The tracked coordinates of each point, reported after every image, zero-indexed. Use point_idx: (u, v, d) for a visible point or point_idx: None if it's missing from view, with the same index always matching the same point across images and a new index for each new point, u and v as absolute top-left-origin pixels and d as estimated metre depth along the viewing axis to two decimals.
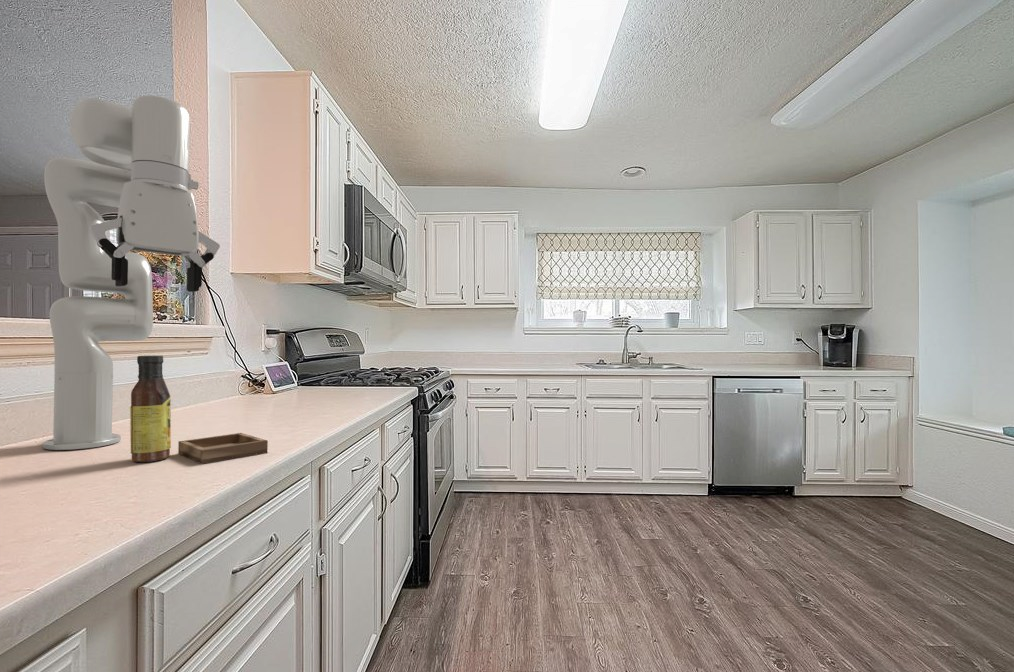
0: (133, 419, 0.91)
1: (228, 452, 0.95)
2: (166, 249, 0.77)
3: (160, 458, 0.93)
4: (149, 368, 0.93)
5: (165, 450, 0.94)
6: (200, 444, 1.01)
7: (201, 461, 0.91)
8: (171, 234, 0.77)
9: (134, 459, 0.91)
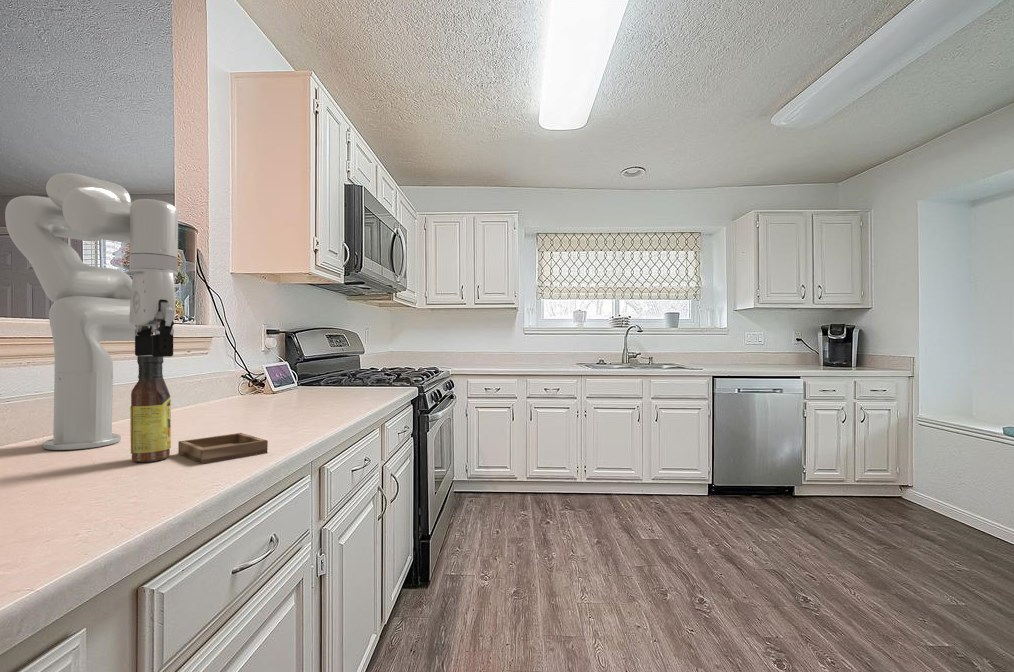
0: (133, 419, 0.91)
1: (228, 452, 0.95)
2: None
3: (160, 458, 0.93)
4: (149, 368, 0.93)
5: (165, 450, 0.94)
6: (200, 444, 1.01)
7: (201, 461, 0.91)
8: None
9: (134, 459, 0.91)
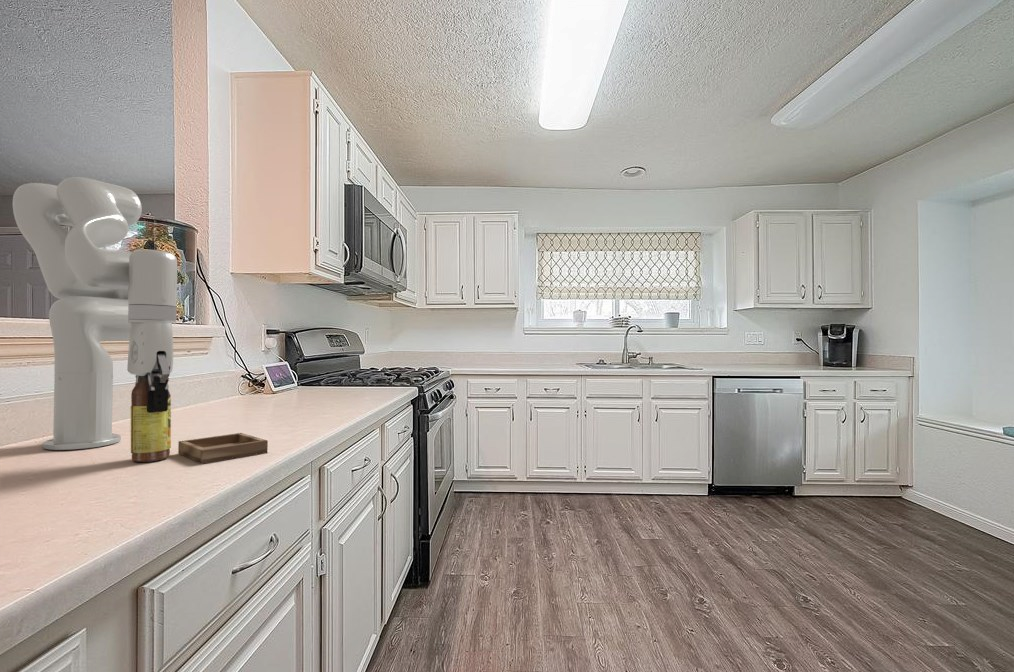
0: (133, 419, 0.91)
1: (228, 452, 0.95)
2: None
3: (160, 458, 0.93)
4: None
5: (165, 450, 0.93)
6: (200, 444, 1.01)
7: (201, 461, 0.91)
8: None
9: (134, 459, 0.91)
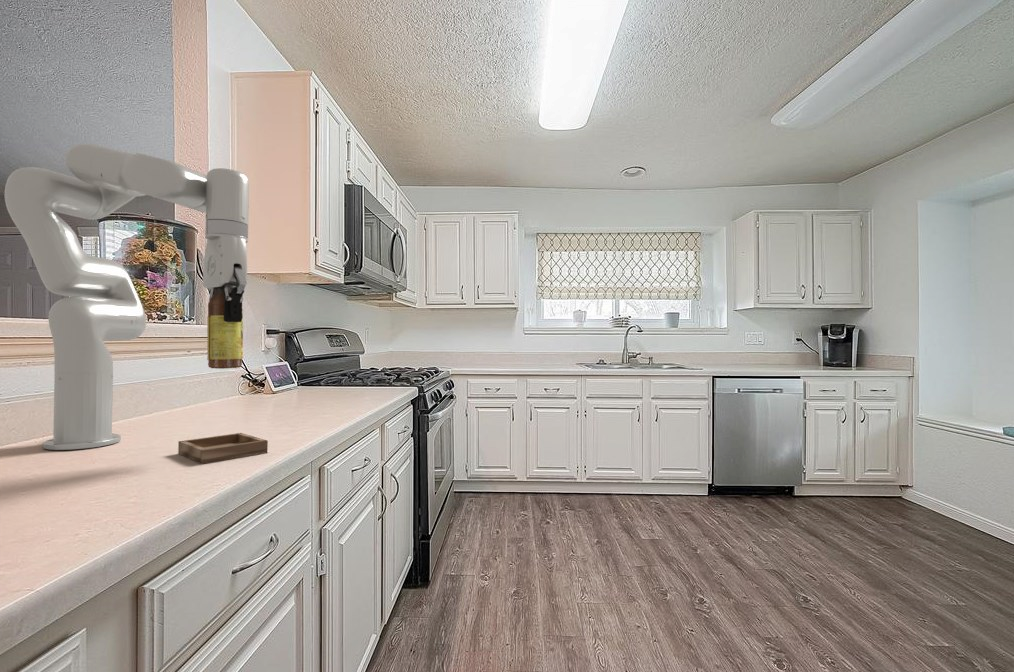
0: (211, 327, 0.97)
1: (228, 452, 0.95)
2: None
3: (235, 366, 0.98)
4: None
5: (239, 359, 0.99)
6: (200, 444, 1.01)
7: (201, 461, 0.91)
8: None
9: (211, 365, 0.97)
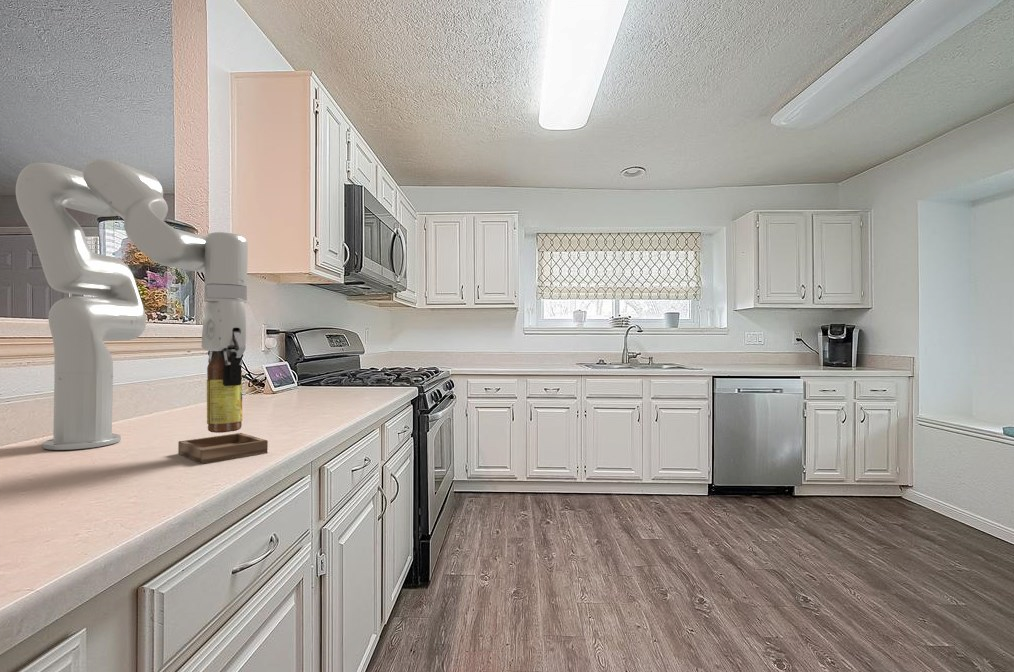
0: (210, 392, 0.97)
1: (228, 452, 0.95)
2: None
3: (234, 429, 0.98)
4: None
5: (238, 422, 0.99)
6: (200, 444, 1.01)
7: (201, 461, 0.91)
8: None
9: (211, 429, 0.97)
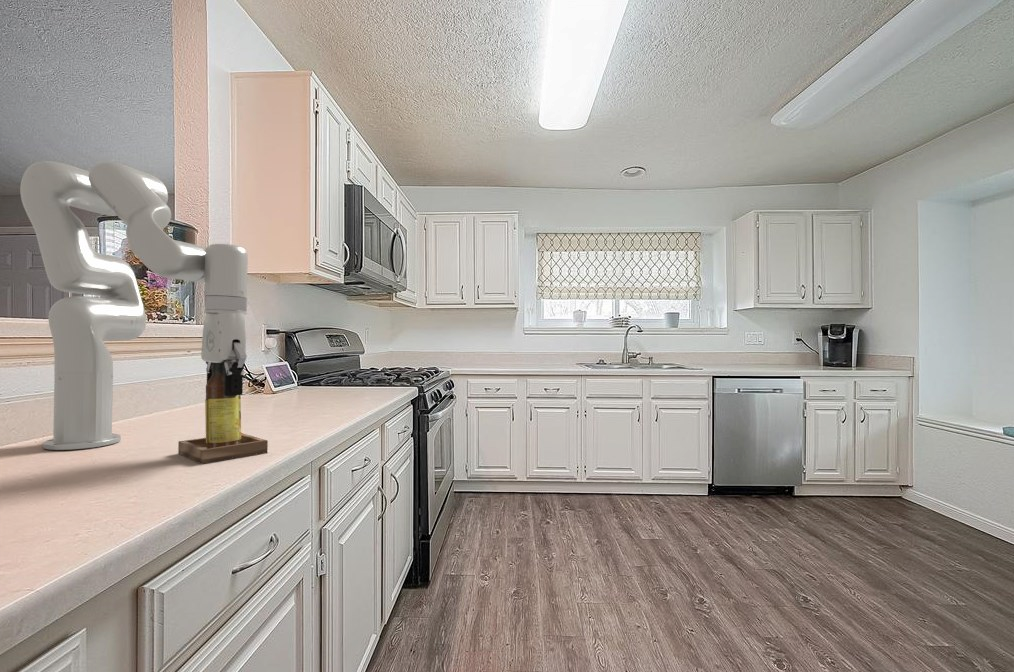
0: (209, 411, 0.97)
1: (228, 452, 0.95)
2: None
3: None
4: (222, 363, 0.98)
5: (237, 440, 0.99)
6: (200, 444, 1.01)
7: (201, 461, 0.91)
8: None
9: None
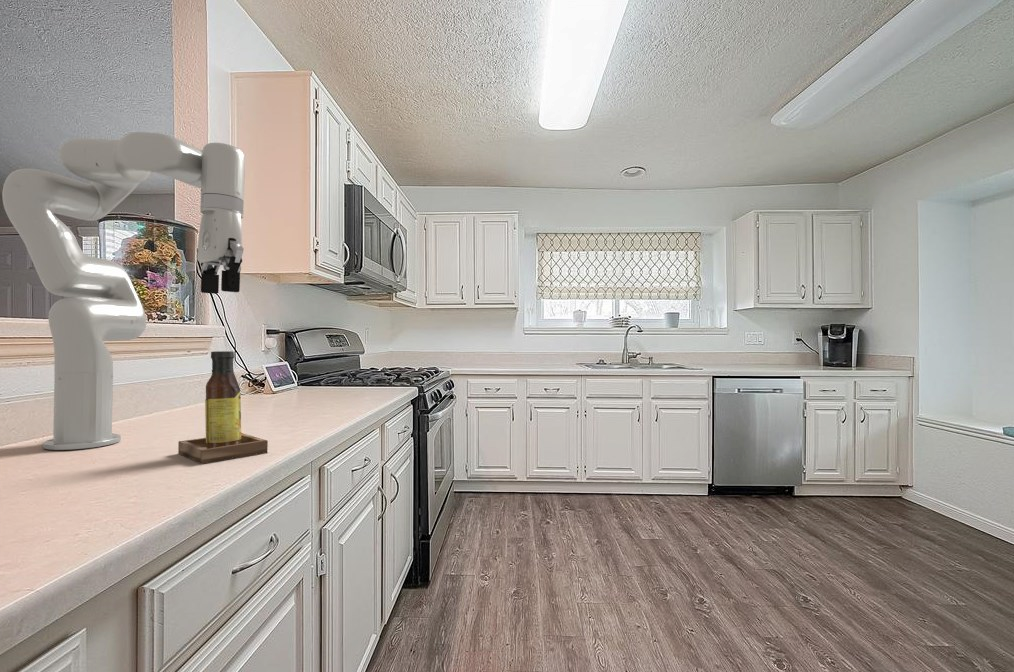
0: (209, 411, 0.97)
1: (228, 452, 0.95)
2: None
3: None
4: (222, 363, 0.98)
5: (237, 440, 0.99)
6: (200, 444, 1.01)
7: (201, 461, 0.91)
8: None
9: None
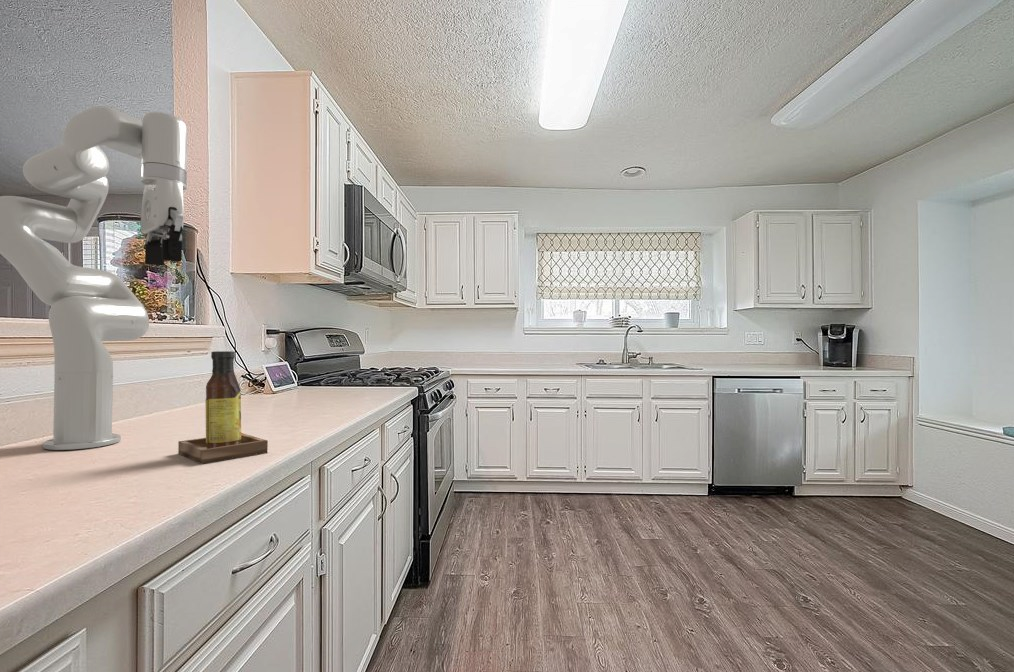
0: (209, 411, 0.97)
1: (228, 452, 0.95)
2: None
3: None
4: (223, 363, 0.98)
5: (237, 440, 0.99)
6: (200, 444, 1.01)
7: (201, 461, 0.91)
8: None
9: None
